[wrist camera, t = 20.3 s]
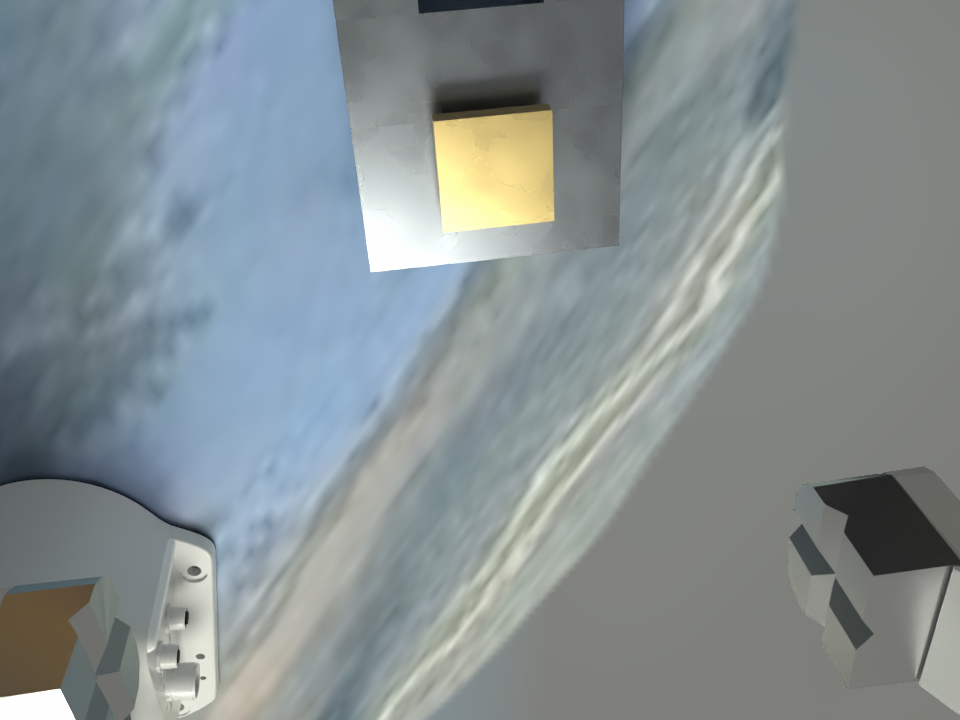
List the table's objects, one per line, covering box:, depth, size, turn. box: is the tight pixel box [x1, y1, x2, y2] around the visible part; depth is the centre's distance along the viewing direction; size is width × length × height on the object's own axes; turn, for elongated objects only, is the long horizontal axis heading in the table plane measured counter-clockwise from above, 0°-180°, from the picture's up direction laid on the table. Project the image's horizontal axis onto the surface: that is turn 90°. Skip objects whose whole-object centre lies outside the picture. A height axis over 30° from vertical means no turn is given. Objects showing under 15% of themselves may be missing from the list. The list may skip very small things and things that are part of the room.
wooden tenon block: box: [432, 103, 554, 233], centre depth 42 cm, size 5×5×8 cm
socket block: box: [333, 0, 624, 272], centre depth 40 cm, size 20×12×6 cm, turn 4°
